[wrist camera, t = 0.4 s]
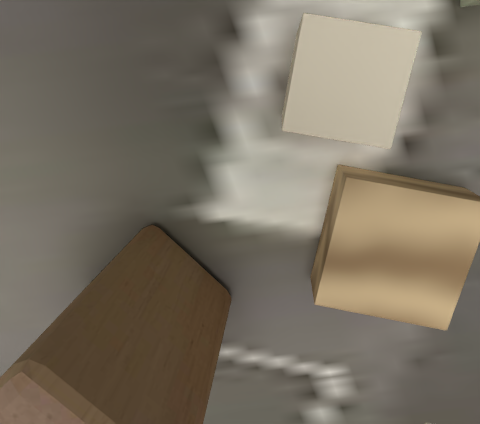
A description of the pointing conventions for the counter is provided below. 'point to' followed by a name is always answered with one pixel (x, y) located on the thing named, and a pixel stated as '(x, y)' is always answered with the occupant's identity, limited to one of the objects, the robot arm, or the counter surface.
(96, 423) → the wooden block
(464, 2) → the sage block
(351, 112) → the cream block
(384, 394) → the counter surface
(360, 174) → the oak base
